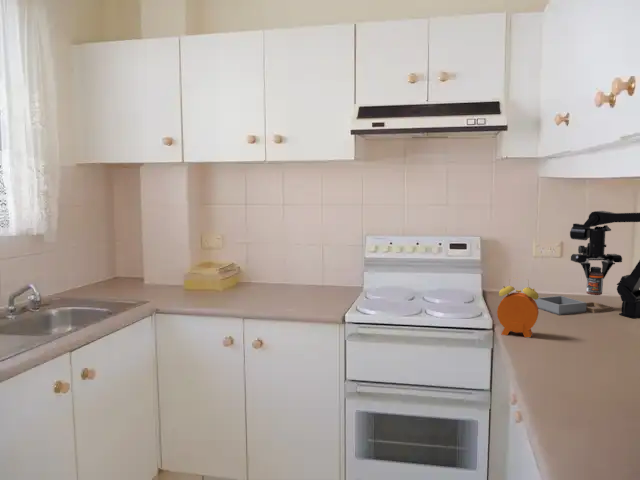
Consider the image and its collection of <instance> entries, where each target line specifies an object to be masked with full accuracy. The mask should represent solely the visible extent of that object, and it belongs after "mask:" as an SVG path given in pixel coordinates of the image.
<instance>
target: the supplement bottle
mask: <svg viewBox="0 0 640 480" xmlns="http://www.w3.org/2000/svg"><path fill="white" fill-rule="evenodd" d="M603 285H604V279H603V273H602V267H600V266H590V274H589V279H587V278H586V290H585V291H586V294H587V295H591V296H601V295H603Z"/></svg>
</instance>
